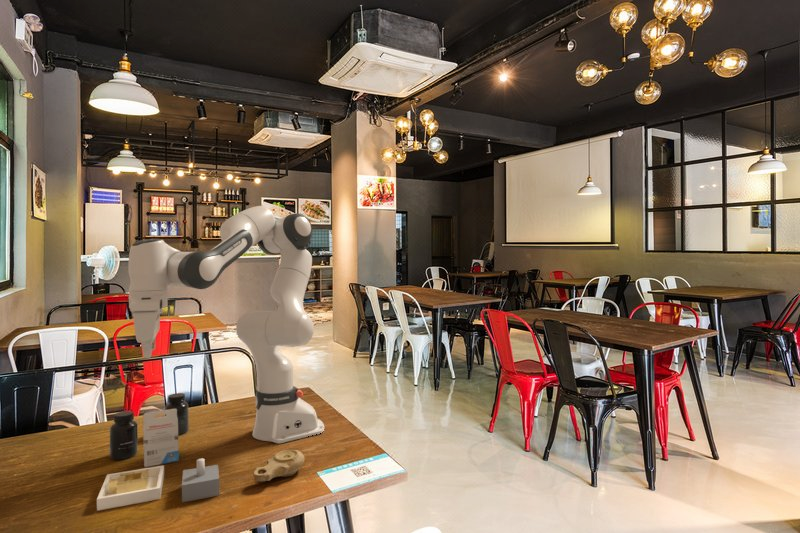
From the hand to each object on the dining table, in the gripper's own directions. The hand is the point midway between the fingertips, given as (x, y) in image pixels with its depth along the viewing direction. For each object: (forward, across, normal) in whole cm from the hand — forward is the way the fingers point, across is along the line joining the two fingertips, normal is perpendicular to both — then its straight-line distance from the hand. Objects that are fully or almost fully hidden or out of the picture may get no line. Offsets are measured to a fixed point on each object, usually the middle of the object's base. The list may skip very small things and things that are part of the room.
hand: (149, 353), depth 121 cm
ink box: (+31, -6, +2) cm, 32 cm away
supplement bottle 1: (+31, -14, -8) cm, 35 cm away
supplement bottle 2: (+31, -27, +5) cm, 42 cm away
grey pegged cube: (+31, +16, +12) cm, 37 cm away
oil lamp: (+32, +16, +31) cm, 47 cm away
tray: (+31, +10, -3) cm, 33 cm away
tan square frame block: (+30, +10, -3) cm, 32 cm away
